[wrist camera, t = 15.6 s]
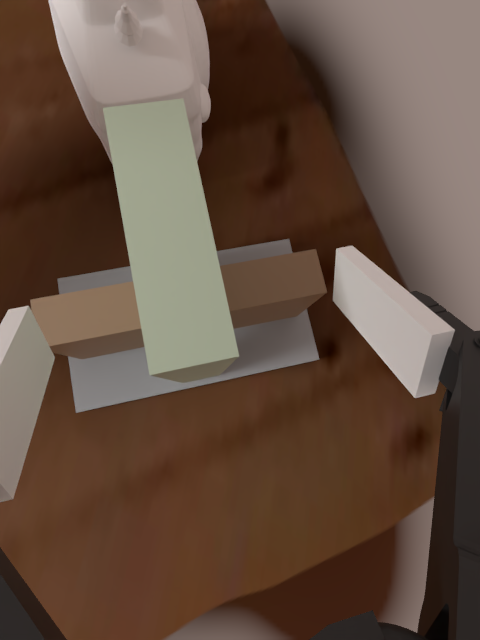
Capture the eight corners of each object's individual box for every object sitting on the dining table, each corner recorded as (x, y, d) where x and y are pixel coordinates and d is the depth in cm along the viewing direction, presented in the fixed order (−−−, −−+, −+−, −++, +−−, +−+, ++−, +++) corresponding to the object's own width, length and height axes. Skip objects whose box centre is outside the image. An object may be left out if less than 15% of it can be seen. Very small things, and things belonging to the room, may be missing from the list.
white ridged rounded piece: (113, 211, 33) (31, 54, 18) (73, 46, 36) (-29, -217, 20) (229, 187, 35) (248, 22, 19) (182, 30, 37) (166, -226, 22)
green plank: (183, 383, 29) (149, 375, 12) (161, 266, 31) (102, 107, 13) (219, 375, 30) (239, 356, 12) (195, 260, 31) (183, 98, 14)
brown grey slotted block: (82, 411, 30) (26, 421, 20) (64, 283, 32) (5, 240, 22) (314, 360, 32) (358, 349, 23) (285, 245, 34) (315, 191, 25)
